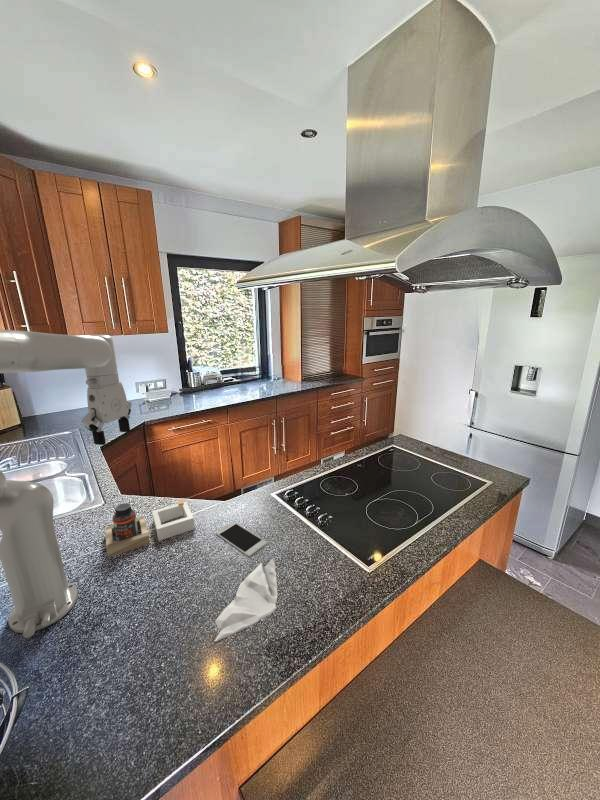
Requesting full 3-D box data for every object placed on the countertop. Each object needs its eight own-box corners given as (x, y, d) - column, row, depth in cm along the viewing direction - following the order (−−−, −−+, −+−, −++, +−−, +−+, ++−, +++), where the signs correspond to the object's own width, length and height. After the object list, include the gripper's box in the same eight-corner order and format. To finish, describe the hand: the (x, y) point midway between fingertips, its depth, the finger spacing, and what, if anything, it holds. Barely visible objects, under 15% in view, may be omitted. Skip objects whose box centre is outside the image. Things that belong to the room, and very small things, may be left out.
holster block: (149, 543, 95) (148, 535, 94) (108, 557, 90) (106, 548, 89) (145, 524, 104) (144, 516, 103) (107, 535, 99) (105, 527, 98)
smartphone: (249, 558, 90) (249, 555, 89) (215, 535, 99) (215, 532, 99) (267, 544, 95) (267, 542, 95) (233, 523, 105) (233, 521, 104)
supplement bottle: (117, 549, 93) (111, 515, 90) (116, 537, 98) (110, 504, 95) (140, 541, 96) (135, 508, 93) (138, 530, 101) (132, 498, 98)
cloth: (231, 662, 63) (230, 653, 63) (188, 624, 71) (187, 616, 71) (307, 576, 84) (307, 569, 83) (267, 554, 91) (266, 547, 91)
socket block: (194, 528, 101) (193, 516, 100) (158, 541, 96) (156, 527, 95) (187, 511, 110) (185, 499, 109) (153, 521, 105) (151, 509, 104)
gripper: (89, 387, 81) (101, 451, 86) (136, 374, 97) (144, 428, 102) (64, 386, 82) (77, 448, 87) (114, 374, 99) (123, 426, 103)
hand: (113, 437), depth 94 cm, fingers open, 9 cm apart
